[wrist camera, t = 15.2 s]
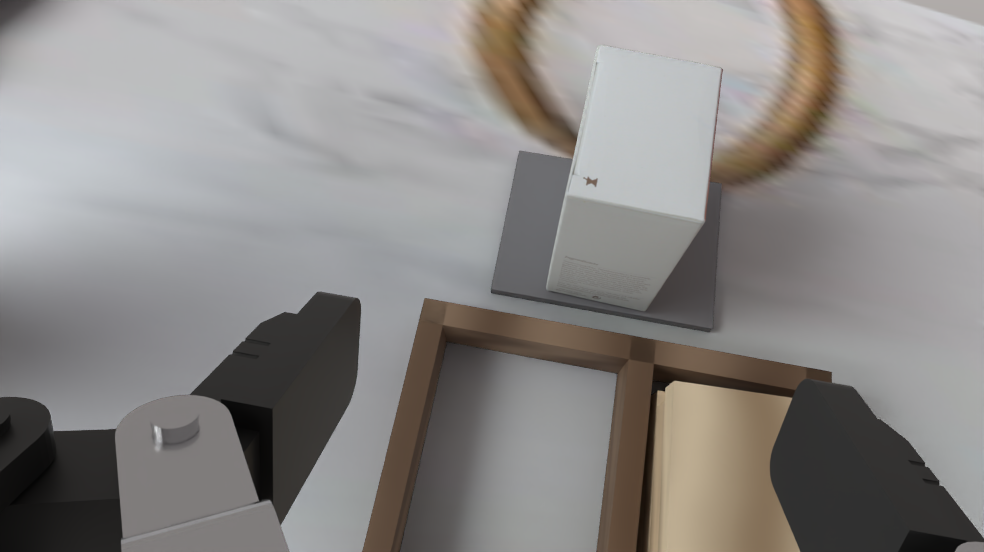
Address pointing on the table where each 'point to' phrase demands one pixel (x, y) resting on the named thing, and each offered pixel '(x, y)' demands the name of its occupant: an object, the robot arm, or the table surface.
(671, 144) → the small box
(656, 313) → the charcoal mat
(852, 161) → the table surface
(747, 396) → the offcut stack
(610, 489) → the walnut rack
